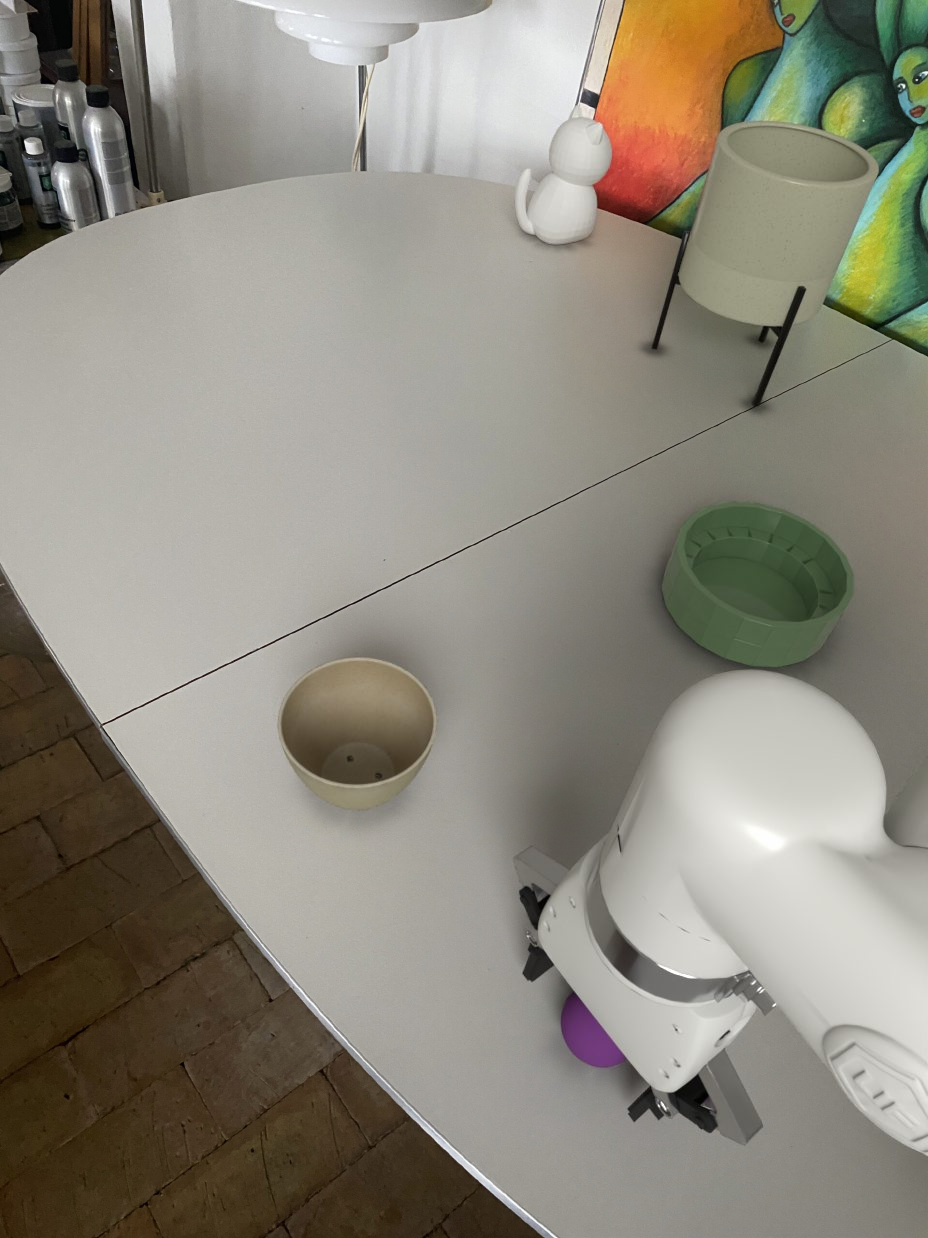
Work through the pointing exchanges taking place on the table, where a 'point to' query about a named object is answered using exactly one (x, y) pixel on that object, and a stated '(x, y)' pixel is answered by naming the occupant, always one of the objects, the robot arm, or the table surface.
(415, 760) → the flower pot
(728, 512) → the bowl
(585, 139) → the cat figurine
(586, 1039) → the ball
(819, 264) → the planter
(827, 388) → the table surface
